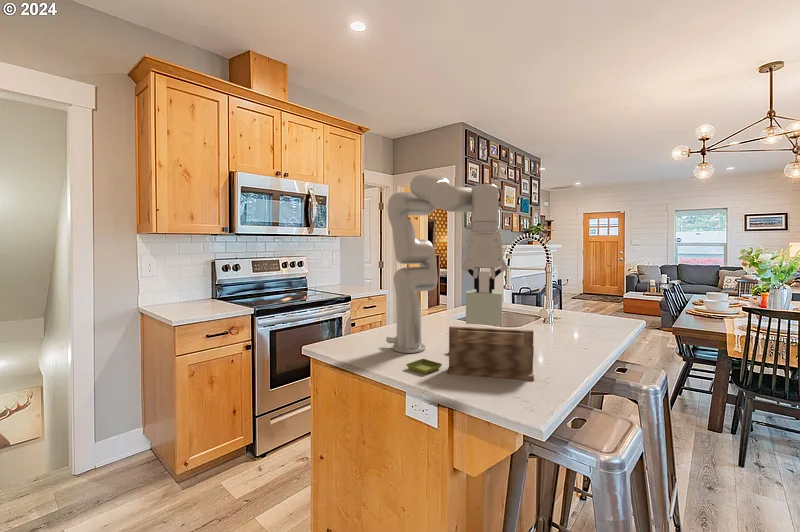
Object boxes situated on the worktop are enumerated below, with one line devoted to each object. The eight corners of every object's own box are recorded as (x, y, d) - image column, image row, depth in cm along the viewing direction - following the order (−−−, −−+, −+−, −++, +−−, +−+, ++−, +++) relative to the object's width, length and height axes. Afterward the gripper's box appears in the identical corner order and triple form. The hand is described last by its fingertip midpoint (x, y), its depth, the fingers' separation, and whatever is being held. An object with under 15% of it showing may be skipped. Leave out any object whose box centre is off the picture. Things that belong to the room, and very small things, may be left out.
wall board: (447, 373, 126) (447, 330, 125) (449, 368, 131) (449, 326, 130) (533, 380, 120) (534, 334, 119) (532, 374, 125) (533, 330, 124)
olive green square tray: (425, 376, 124) (425, 370, 124) (405, 370, 130) (405, 364, 130) (442, 370, 130) (442, 364, 130) (422, 364, 137) (422, 358, 136)
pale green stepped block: (465, 323, 115) (466, 272, 114) (468, 317, 123) (468, 269, 122) (501, 325, 112) (502, 272, 111) (501, 319, 121) (502, 270, 120)
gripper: (454, 228, 113) (454, 292, 114) (514, 227, 108) (513, 294, 110) (457, 229, 120) (457, 289, 121) (514, 228, 116) (513, 291, 117)
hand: (484, 291), depth 115 cm, fingers closed on pale green stepped block, 3 cm apart
